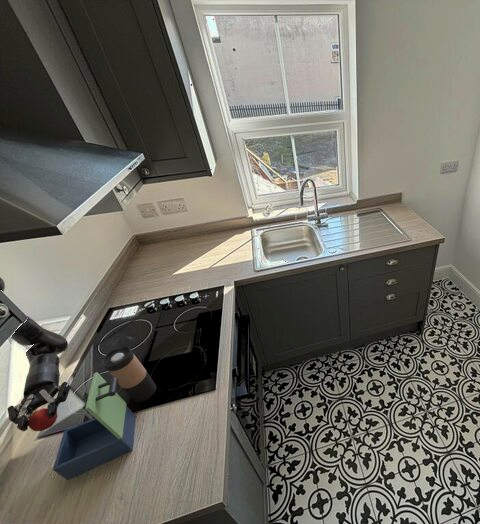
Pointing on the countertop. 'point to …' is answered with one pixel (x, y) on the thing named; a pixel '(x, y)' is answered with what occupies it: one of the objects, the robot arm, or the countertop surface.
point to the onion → (41, 420)
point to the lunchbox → (92, 446)
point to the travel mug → (129, 374)
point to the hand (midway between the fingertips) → (37, 422)
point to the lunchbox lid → (107, 404)
